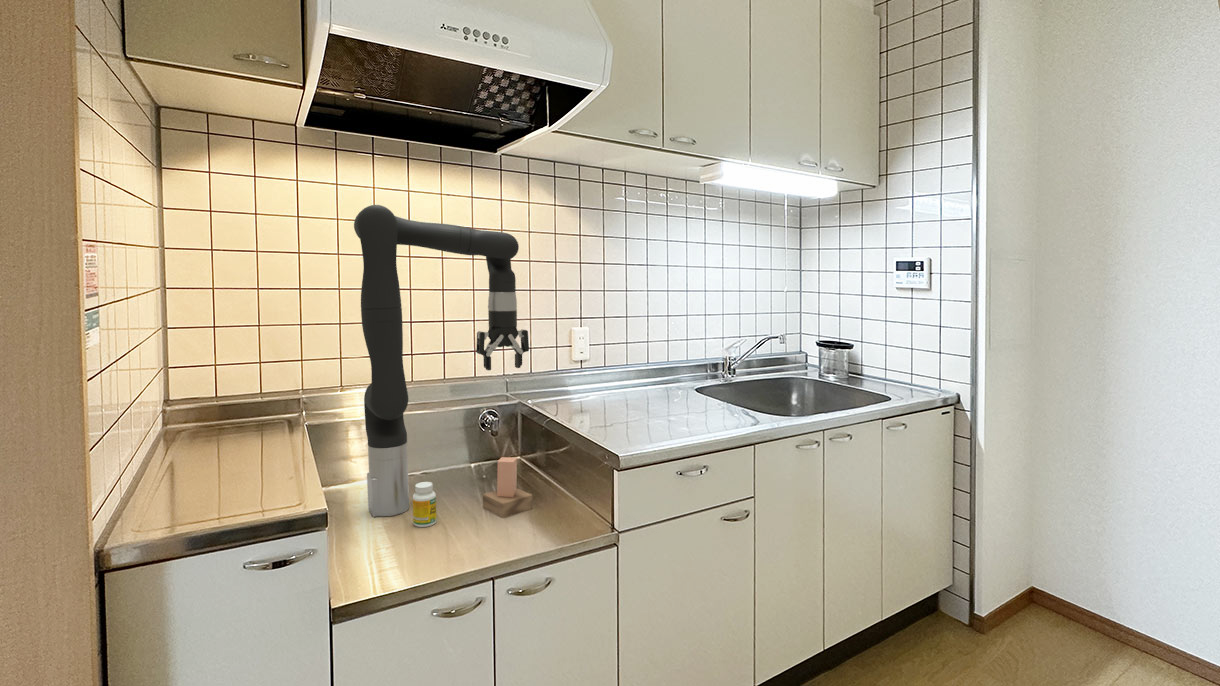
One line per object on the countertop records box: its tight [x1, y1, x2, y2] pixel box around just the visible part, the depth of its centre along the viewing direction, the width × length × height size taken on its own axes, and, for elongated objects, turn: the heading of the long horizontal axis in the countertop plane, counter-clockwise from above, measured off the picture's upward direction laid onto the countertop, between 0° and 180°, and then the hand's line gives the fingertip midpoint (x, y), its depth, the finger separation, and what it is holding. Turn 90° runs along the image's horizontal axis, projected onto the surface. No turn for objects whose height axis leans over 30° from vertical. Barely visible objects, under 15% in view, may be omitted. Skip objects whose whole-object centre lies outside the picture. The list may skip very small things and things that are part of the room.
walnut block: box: [482, 487, 533, 519], centre depth 151 cm, size 9×9×4 cm
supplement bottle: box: [412, 481, 437, 528], centre depth 141 cm, size 5×5×10 cm
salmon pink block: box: [496, 456, 518, 497], centre depth 151 cm, size 4×4×9 cm
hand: (503, 368), depth 160 cm, fingers open, 8 cm apart
